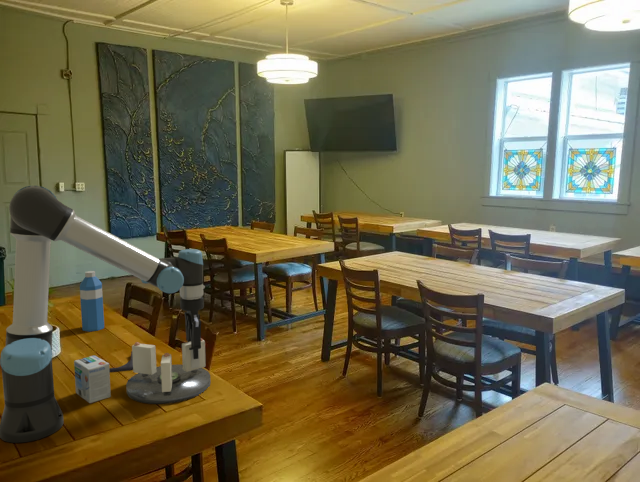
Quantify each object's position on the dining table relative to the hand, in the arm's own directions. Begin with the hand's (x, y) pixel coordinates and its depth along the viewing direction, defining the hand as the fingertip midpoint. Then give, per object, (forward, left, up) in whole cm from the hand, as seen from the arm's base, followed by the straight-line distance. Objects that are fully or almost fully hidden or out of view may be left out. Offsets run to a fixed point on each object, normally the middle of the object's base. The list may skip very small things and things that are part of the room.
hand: (194, 365), depth 173 cm
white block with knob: (-15, -3, -2) cm, 16 cm away
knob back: (-10, +12, -2) cm, 16 cm away
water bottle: (+22, +75, -5) cm, 78 cm away
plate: (-8, +3, -5) cm, 10 cm away
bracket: (+1, +29, -5) cm, 30 cm away
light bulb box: (-24, +19, -5) cm, 31 cm away
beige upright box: (0, 0, -2) cm, 2 cm away
